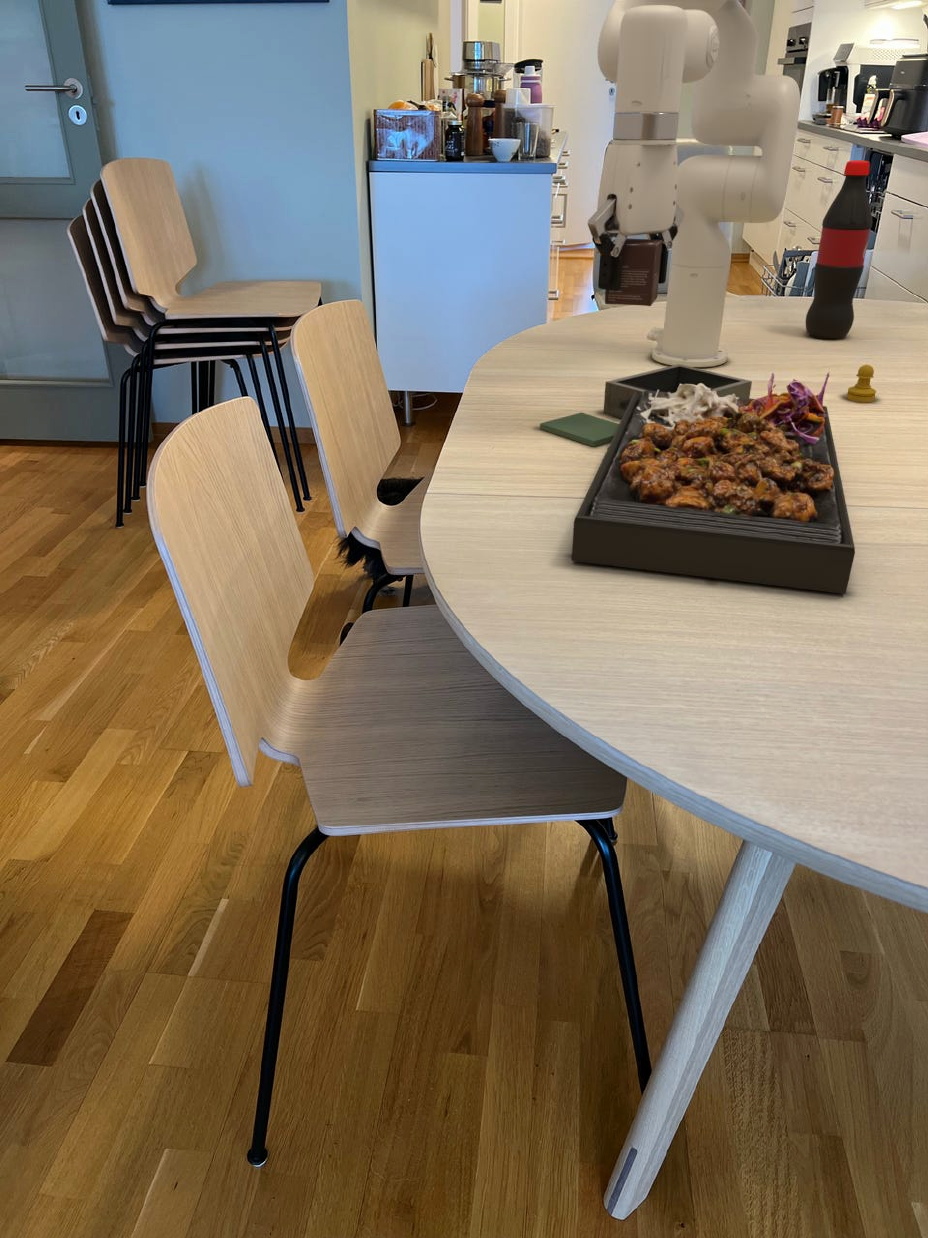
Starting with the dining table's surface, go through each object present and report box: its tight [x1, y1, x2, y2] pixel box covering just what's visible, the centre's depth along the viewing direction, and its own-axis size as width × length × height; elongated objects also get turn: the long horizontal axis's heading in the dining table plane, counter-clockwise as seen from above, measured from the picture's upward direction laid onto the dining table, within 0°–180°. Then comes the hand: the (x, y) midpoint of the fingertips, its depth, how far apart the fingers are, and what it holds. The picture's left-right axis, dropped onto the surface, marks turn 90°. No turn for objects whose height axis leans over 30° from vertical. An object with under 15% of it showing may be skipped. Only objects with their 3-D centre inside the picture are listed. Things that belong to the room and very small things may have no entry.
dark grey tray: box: [602, 364, 753, 420], centre depth 130 cm, size 13×16×4 cm
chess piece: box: [846, 364, 877, 403], centre depth 136 cm, size 4×4×5 cm
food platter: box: [571, 371, 856, 595], centre depth 101 cm, size 45×25×10 cm, turn 164°
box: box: [604, 237, 662, 307], centre depth 117 cm, size 6×6×7 cm
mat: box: [539, 411, 620, 448], centre depth 123 cm, size 10×8×1 cm
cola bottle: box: [805, 159, 873, 340], centre depth 168 cm, size 8×8×30 cm
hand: (632, 285), depth 117 cm, fingers closed on box, 8 cm apart
